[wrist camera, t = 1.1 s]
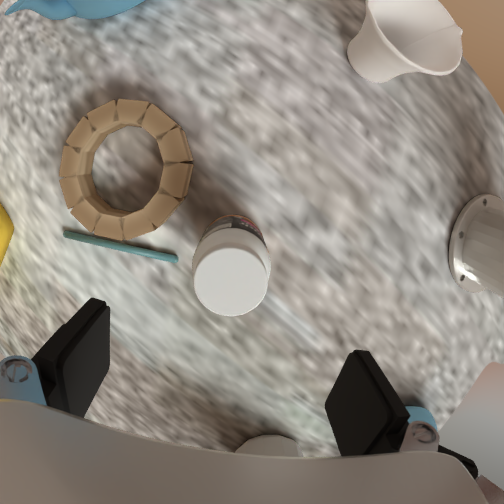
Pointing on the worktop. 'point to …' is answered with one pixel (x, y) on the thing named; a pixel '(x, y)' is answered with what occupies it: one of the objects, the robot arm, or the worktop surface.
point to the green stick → (121, 247)
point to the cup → (405, 40)
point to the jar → (271, 446)
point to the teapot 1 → (5, 232)
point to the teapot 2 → (75, 8)
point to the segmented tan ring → (81, 160)
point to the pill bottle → (231, 266)
